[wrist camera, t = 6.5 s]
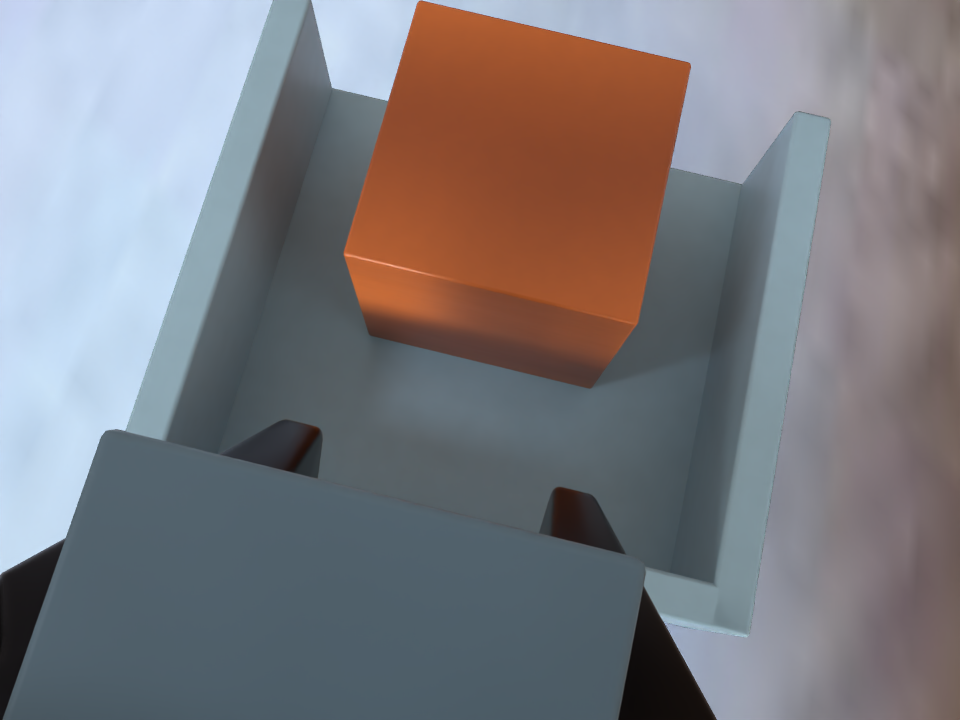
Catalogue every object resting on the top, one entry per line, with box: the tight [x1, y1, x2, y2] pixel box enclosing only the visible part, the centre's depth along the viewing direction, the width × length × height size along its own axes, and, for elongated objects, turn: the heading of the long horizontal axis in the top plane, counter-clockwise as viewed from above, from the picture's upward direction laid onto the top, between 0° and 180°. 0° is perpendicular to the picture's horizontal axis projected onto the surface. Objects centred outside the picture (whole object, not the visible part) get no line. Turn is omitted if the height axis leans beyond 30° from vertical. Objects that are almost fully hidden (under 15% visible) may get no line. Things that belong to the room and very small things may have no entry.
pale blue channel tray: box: [3, 0, 831, 720], centre depth 10 cm, size 10×9×12 cm
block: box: [343, 1, 691, 389], centre depth 14 cm, size 4×4×4 cm
